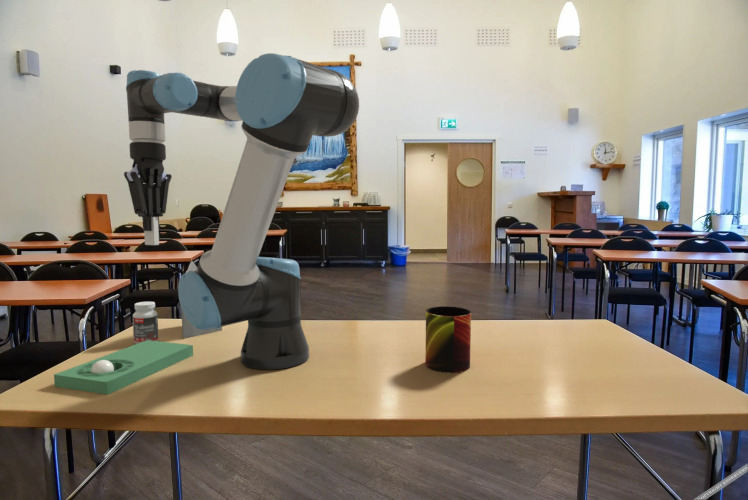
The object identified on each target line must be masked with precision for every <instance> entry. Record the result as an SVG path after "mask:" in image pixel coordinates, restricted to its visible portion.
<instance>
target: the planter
mask: <svg viewBox="0 0 748 500" xmlns="http://www.w3.org/2000/svg"><path fill="white" fill-rule="evenodd" d="M197 268H198V266H196V264H195V262H194V261H192V260H191V261H190V262H189V265H188V267H187V270H186V272H185V273H187V272H189V271H196V270H197ZM180 308H181V330H182V331H181V332H182V339H188V338H193V337H198V336H203V335H209V334H213V333H216V332H220V331H222V330H223V327H220V328H217V329H216V328H213V329H206V330H201V329H198V328H196V327H194V326H193V325H192V324H191V323H190V322H189V321H188V320H187V318H186V316H185V314H184V312H183V310H182V307H181V306H180Z"/></svg>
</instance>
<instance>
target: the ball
mask: <svg viewBox="0 0 748 500" xmlns="http://www.w3.org/2000/svg"><path fill="white" fill-rule="evenodd" d="M111 371H114V366H113V364H112V363H111V362H110V361H107V360H100V361H98V362H96V363H95V364H94V365H93V366H92V368H91V373H107V372H111Z"/></svg>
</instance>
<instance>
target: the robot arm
mask: <svg viewBox="0 0 748 500" xmlns="http://www.w3.org/2000/svg"><path fill="white" fill-rule="evenodd" d="M239 76H240V77H239V79H238V81H237V85H223V86H222V85H217V84H210V83H205V82H202V81H198V80H197V81H196V80H193V79H192V78H190V77H189V76H188V75H186V73H182V72H167V73H163V74H160V73H158V72H155V71H152V70H151V71H150V70H145V69H142V70H141V69H139V70H135V69H134V70H131V71H129V72H128V73H127V74H126V85H125V90H126V102H127V115H128V117H127V118H128V132H129V133H128V134H129V135H128V136H129V141H132V142H130V143H129V157H130V159H131V160H133V163H132V165H131V170H129V171H124V173H123V176H124V178H125V180H126V182H127V185H128V190H129V193H130V194H129V195H130V198H131V202H132V206H133V207H132V208H133V211H134V214H135V215H137V216H138V217H140V218H142V230H143V232H144V245H146V246H159V245H160V233H159V230H160V217H161V218H162V217H163V216H164V214H166V211H167V206H168V205H167V204H168V195H169V190H170V189H169V187H170V182H171V181H172V178H173V177H172V174H170V173H167V172H166V171H165V167H164V164H163V161H166V159H167V150H166V145H165V142H166V126H165V124H166V123H165V114H168V113H175V114H181V115H186V116H193V117H194V116H195V117H204V118H210V119H214V120H215V119H216V120H219V121H220V120H221V121H224V122H241V121H242V123H241V130H242V131H243V134H244V135H245V137H246V141H245V145H244V146H243V152H242V154H241V157H240V160H239V163H238V166H237V170H236V174H235V176H234V179H233V182H232V186H231V189H230V191H229V195H228V198H227V202H226V205H225V208H224V211H223V213H222V216H221V220H220V223H219V226H218V230H217V232H216V235H215V239H214V242H213V245H212V248H211V249H210V250H207V251H206V252H204V253H203V254H202V255H201V256H200V259H199V262H198V265H197V270H196V271H189V272H187V271H186V272H187V273H186V272H185V273H183V274H182V275H181V276H180V279H179V281H178V287H177V288H178V289H177V292H178V293H177V294H178V300H179V304H180V308H181V307H182V310H183V312H184V314H185V316H186V318H187V320H188V321H189V322H190V323H191V324H192V325H193V326H194V327H196V328H198V329H201V330H206V329H213V328H216V329H217V328H220V327H222V328H224V327H226V326H230V325H231V326H232V325H234V324H238V323H243V322H247V329H246V333H245V337H244V339H243V343H242V346H241V349H240V362H241V364H242V365H243V366H246V367H248V368H251V369H254V370H255V369H256V370H282V369H286V368H287V369H288V368H293V367H295V366H299V365H301V364H304V363H305V362H307V361H308V360H309V358H310V348H309V344H308V341H307V337H306V335H305V332H304V329H303V327H302V319H301V318H302V317H301V314H302V313H301V311H302V310H301V279H302V277H301V273H300V271H301V270H300V266H299V265H300V264H299V262H297V261H296V260H294V259H291V258H279V257H266V256H260V253H261V251H262V248H263V245H264V242H265V239H266V237H267V234H268V231H269V228H270V226H271V223H272V220H273V218H274V215H275V213H276V209H277V207H278V204H279V201H280V199H281V197H282V193H283V191H284V187H285V185H286V183H287V180H288V178H289V174H290V172H291V169H292V166H293V163H294V161H295V159H296V157H297V156H301V155H303V154H306V152H308V149H309V148H308V147H309V146H310V144H311V142H312V138H313V136H315V137H316V136H317V137H335V136H338V135H342V134H344V133H345V132H347V131H348V130H349V129H350V128H351V127H352V126H353V125H354V123H355V121H356V119H357V117H358V115H359V109H360V99H359V95H358V92H357V89H356V88H355V86H354V84H353V83H352V81H351V80H350V79H349V78H348V77H347V76H346V75H343V73H340V72H338V71H337V70H333V69H331V68H326V67H323V66H321V65H317V64H314V63H311V62H308V61H304V60H301V59H298V58H297V57H292V55H282V54H279V53H272V52H271V53H263V54H261V55H259V56H258V57H256V58H254V59H252V60H251V61H250V62H249V63H248V64H247V65H246V66H245V68H244V69H243V70H242V73H241V74H240V75H239Z"/></svg>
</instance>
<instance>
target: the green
mask: <svg viewBox="0 0 748 500" xmlns="http://www.w3.org/2000/svg"><path fill="white" fill-rule="evenodd" d="M192 356H194V345H193V344H188V343H187V344H186V343H176V342H167V341H158V340H157V341H151V340H146V341H144V342H141V343H138V344H136V343H134V344H133V345H130V346H128V347H124V348H122V349H120V350H118V351H117V350H116V351H115V352H112V353H108V354H106V355H103V356H101V357H98V358H95V359H91V360H89V361H87V362H84V363H81V364H79V365H75V366H73V367H70V368H67V369H65V370H61V371H59V372H57V373H54V374H53V379H54V380H53V381H54V382H53V383H54V387H56V388H62V389H68V390H73V391H74V390H76V391H81V392H87V393H88V392H89V393H94V394H95V393H96V394H101V395H111V394H112V393H115V392H117V391H119V390H121V389H123V388H125V387H127V386H130V385H132V384H134V383H136V382H139V381H141V380H143V379H145V378H147V377H149V376H151V375H153V374H156V373H158V372H159V371H162V370H164V369H166V368H168V367H171V366H173V365H175V364H178V363H180V362H182V361H183V360H186V359H188V358H190V357H192ZM100 360H107V361H110V362H111V363H112V364H113V366H114V371H111V372H107V373H91V368H92V366H93V365H94V364H95V363H96V362H98V361H100Z"/></svg>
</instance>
